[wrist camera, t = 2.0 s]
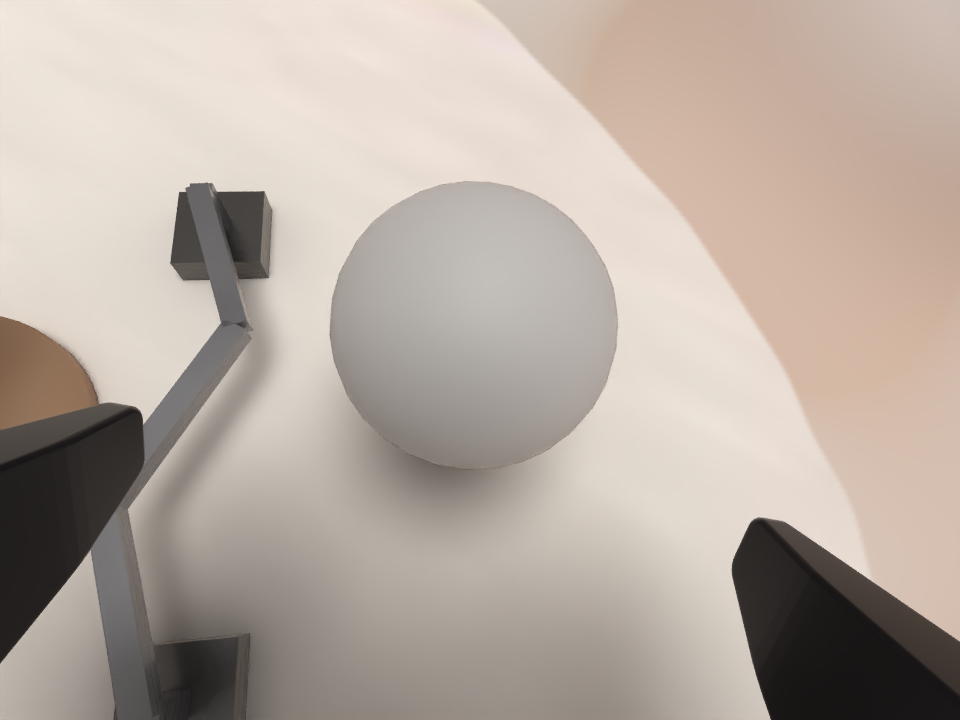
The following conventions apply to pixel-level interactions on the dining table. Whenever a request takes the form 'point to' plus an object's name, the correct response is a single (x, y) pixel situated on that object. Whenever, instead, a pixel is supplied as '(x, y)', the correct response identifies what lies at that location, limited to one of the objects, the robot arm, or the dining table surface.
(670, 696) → the dining table surface
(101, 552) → the grey metal bracket
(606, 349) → the lightbulb
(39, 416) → the walnut coaster
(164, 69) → the dining table surface
